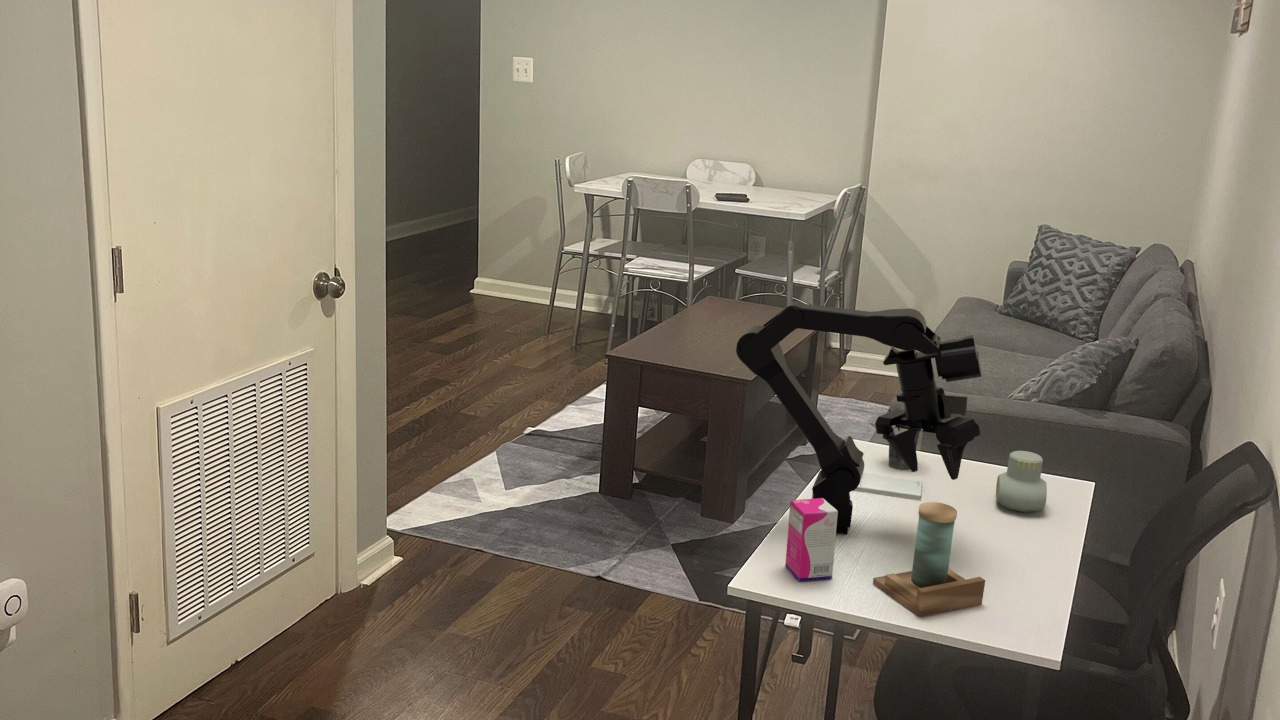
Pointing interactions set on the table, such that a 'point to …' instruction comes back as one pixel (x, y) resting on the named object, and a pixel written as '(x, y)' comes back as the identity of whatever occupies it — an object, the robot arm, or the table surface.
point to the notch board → (933, 593)
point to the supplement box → (811, 539)
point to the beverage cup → (894, 457)
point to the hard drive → (890, 486)
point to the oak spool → (933, 544)
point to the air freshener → (1022, 483)
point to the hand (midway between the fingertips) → (934, 475)
